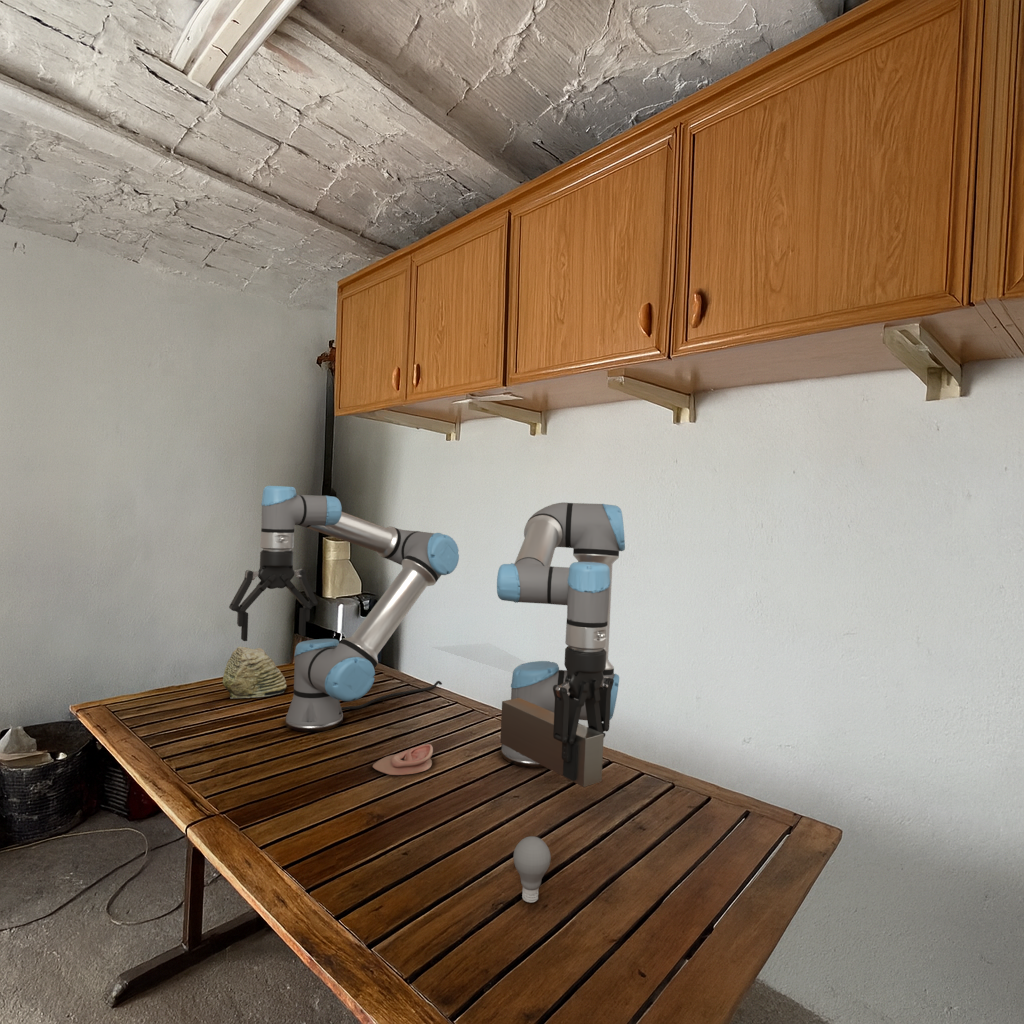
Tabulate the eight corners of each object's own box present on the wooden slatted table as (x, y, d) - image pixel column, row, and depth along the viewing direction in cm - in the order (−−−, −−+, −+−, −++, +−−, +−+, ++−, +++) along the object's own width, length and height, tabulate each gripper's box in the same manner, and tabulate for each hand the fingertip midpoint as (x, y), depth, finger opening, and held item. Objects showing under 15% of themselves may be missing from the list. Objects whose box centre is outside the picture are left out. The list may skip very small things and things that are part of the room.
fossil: (218, 695, 195) (220, 647, 195) (278, 685, 208) (279, 640, 207) (228, 703, 189) (230, 653, 188) (289, 692, 201) (290, 645, 201)
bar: (500, 742, 131) (501, 701, 131) (517, 738, 134) (519, 697, 134) (583, 787, 112) (585, 738, 112) (601, 781, 115) (603, 733, 115)
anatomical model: (367, 754, 146) (387, 737, 157) (366, 771, 146) (386, 752, 158) (422, 762, 144) (438, 743, 155) (421, 779, 144) (437, 759, 155)
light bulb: (510, 888, 105) (512, 829, 104) (546, 888, 105) (548, 829, 105) (513, 912, 99) (515, 849, 98) (551, 912, 99) (554, 849, 99)
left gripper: (225, 551, 142) (221, 645, 143) (333, 550, 157) (329, 635, 158) (217, 548, 148) (214, 639, 149) (322, 547, 163) (319, 629, 164)
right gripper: (564, 657, 107) (558, 794, 107) (633, 646, 118) (628, 770, 118) (535, 648, 113) (529, 778, 113) (604, 638, 124) (598, 757, 124)
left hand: (273, 637), depth 153 cm, fingers open, 13 cm apart
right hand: (580, 774), depth 116 cm, fingers closed on bar, 5 cm apart
